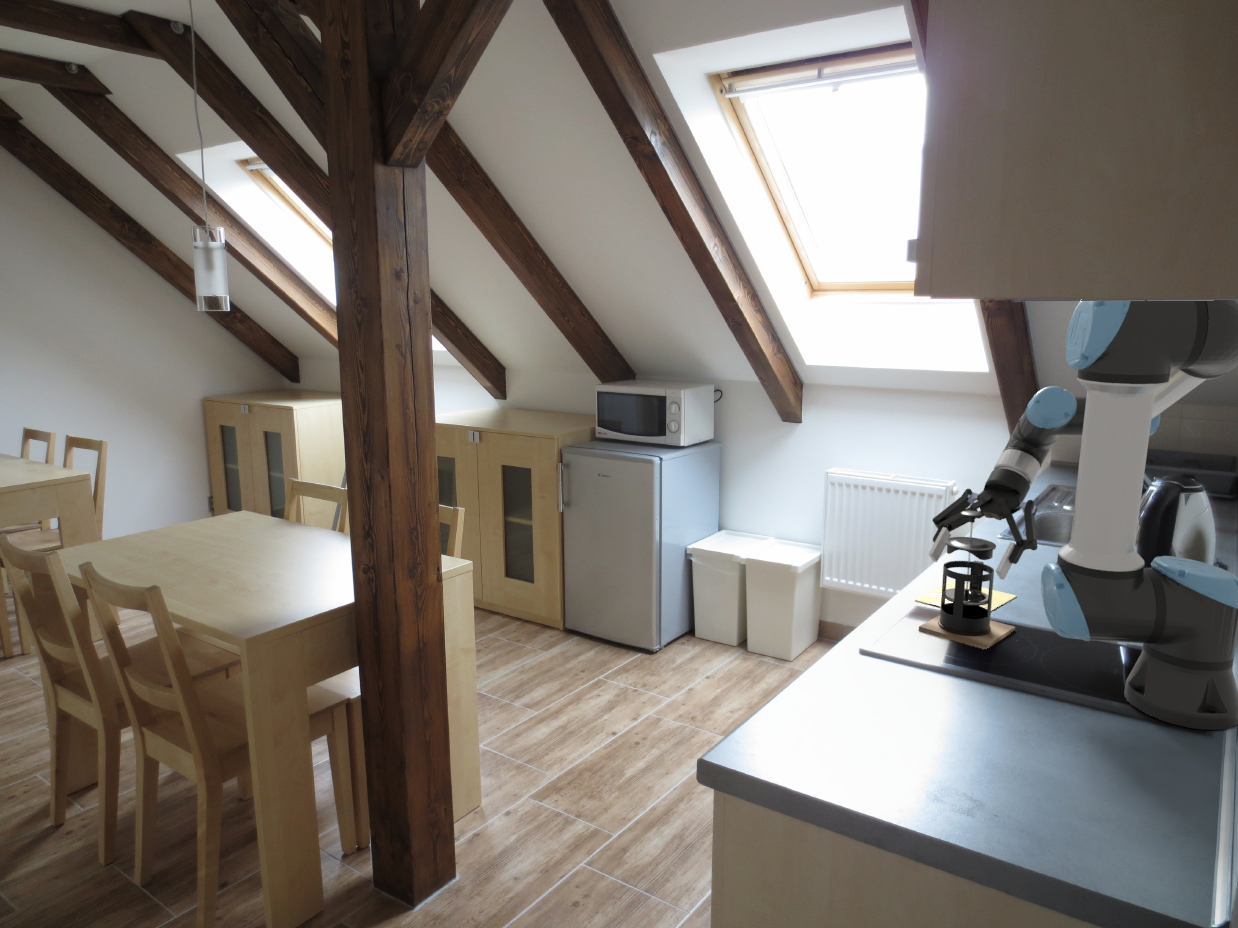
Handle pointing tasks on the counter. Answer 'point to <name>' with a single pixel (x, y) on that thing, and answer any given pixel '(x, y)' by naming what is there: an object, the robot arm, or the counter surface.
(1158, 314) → the robot arm
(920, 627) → the wooden cutting board
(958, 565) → the french press
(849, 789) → the counter surface
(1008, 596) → the recipe card
